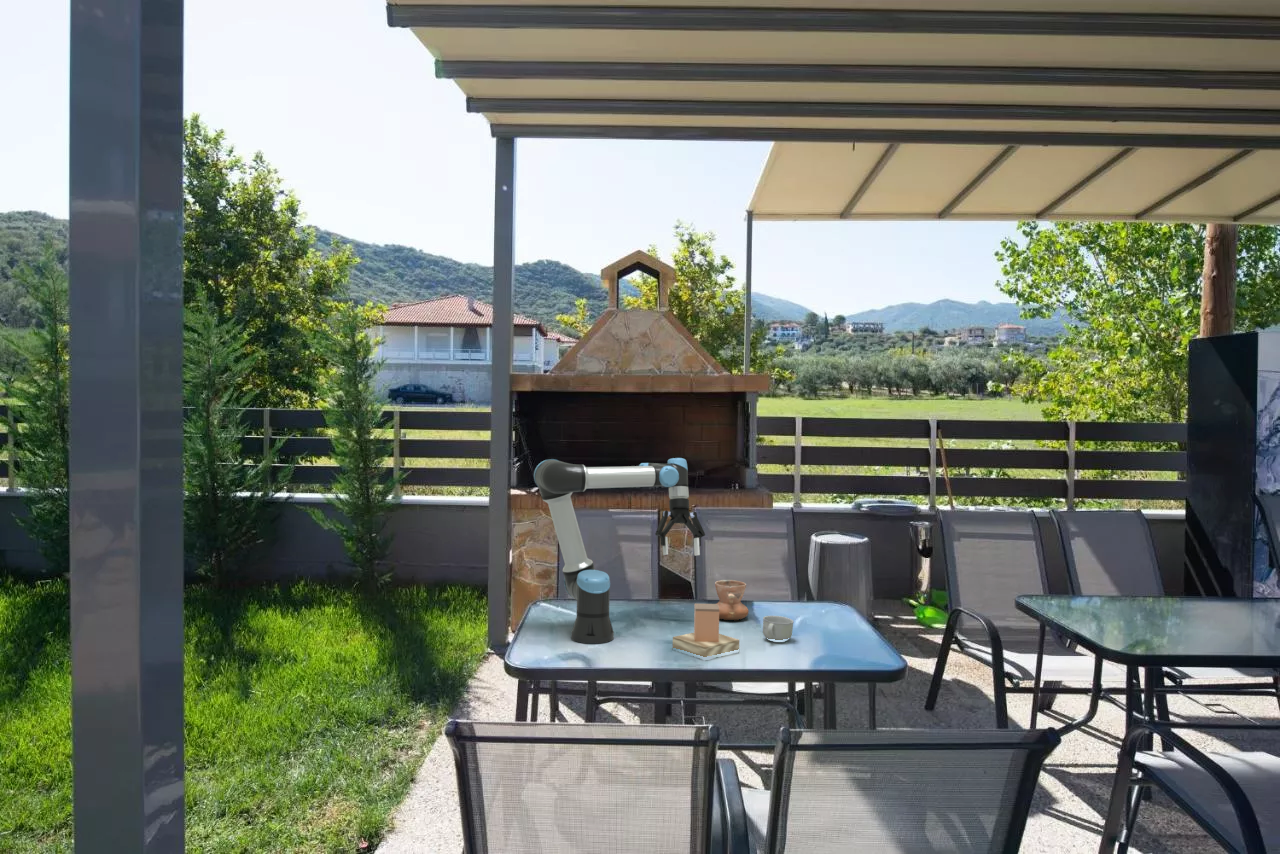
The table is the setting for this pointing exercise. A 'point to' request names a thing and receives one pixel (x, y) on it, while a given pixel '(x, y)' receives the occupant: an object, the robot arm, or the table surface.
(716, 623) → the pink square box
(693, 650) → the birch box
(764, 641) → the table surface
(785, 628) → the teacup
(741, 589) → the ceramic jug
